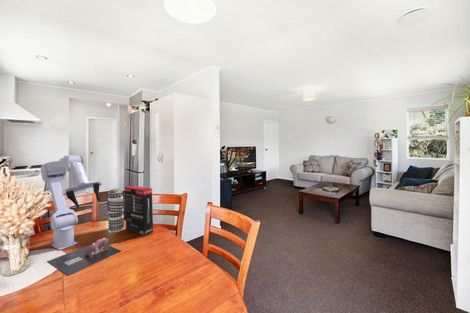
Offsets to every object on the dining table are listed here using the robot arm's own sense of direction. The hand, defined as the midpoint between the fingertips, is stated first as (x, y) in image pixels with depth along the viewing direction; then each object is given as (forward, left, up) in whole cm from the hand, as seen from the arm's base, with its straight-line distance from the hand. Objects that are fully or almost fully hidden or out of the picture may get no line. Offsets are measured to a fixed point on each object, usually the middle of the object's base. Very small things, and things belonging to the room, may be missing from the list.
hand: (88, 203), depth 91 cm
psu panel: (-7, +1, -27) cm, 27 cm away
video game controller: (-7, +6, -27) cm, 28 cm away
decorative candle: (-25, +26, -27) cm, 45 cm away
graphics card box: (-10, +31, -27) cm, 42 cm away
